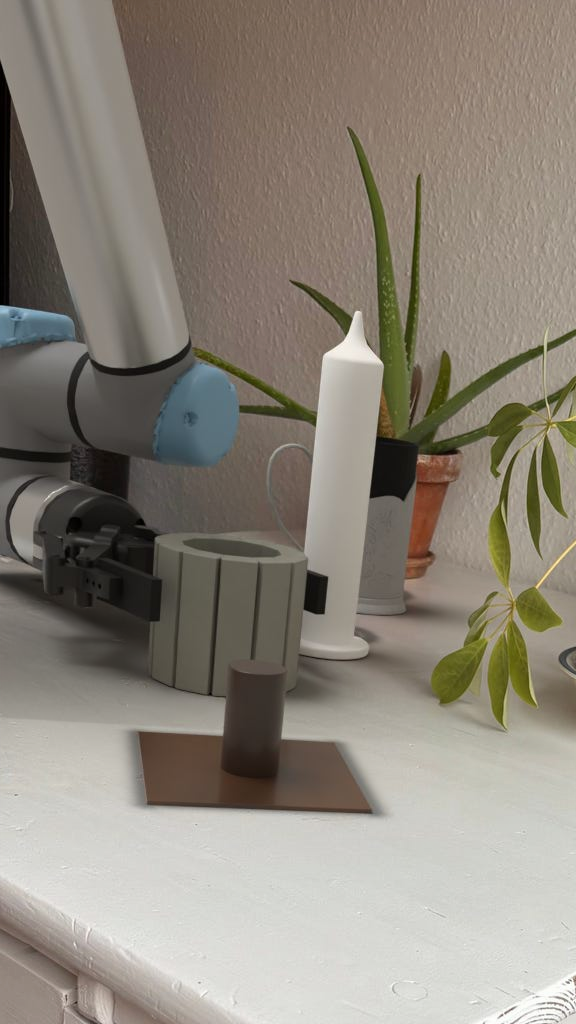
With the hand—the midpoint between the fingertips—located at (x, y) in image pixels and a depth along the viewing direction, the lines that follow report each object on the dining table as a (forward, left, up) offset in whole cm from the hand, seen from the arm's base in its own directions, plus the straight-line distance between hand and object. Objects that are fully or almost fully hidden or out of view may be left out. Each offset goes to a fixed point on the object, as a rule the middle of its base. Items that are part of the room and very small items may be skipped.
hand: (244, 598), depth 87 cm
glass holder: (+12, +31, -6) cm, 34 cm away
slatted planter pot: (-1, +1, -6) cm, 6 cm away
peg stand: (-2, -23, -6) cm, 23 cm away
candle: (+8, +12, -6) cm, 16 cm away
